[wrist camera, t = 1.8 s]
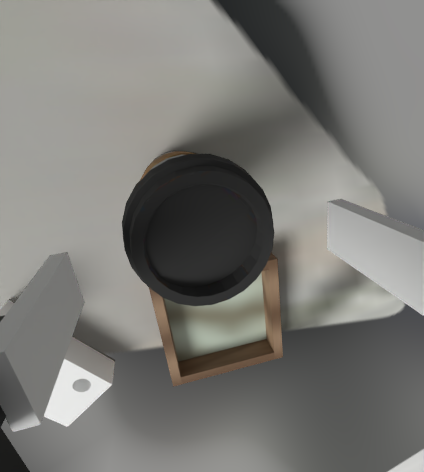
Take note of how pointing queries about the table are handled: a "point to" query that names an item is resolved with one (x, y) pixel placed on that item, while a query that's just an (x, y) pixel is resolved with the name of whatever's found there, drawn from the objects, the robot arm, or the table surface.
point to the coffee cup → (197, 228)
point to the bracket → (76, 380)
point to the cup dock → (222, 330)
